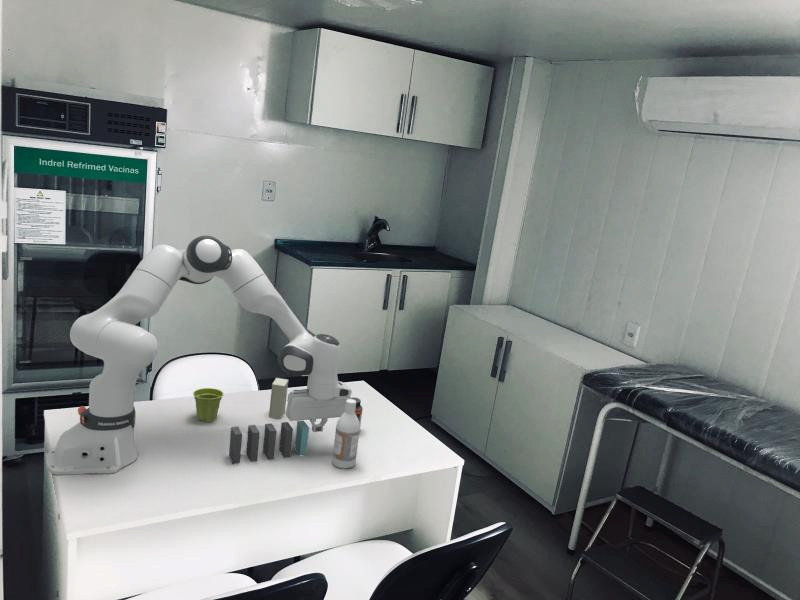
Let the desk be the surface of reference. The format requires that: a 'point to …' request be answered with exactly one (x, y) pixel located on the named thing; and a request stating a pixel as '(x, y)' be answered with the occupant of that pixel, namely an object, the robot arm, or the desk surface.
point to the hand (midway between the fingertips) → (317, 430)
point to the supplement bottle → (358, 409)
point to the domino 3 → (269, 441)
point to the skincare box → (278, 398)
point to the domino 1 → (235, 445)
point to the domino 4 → (286, 439)
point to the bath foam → (346, 437)
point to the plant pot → (207, 403)
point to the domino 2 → (252, 443)
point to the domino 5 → (301, 437)
